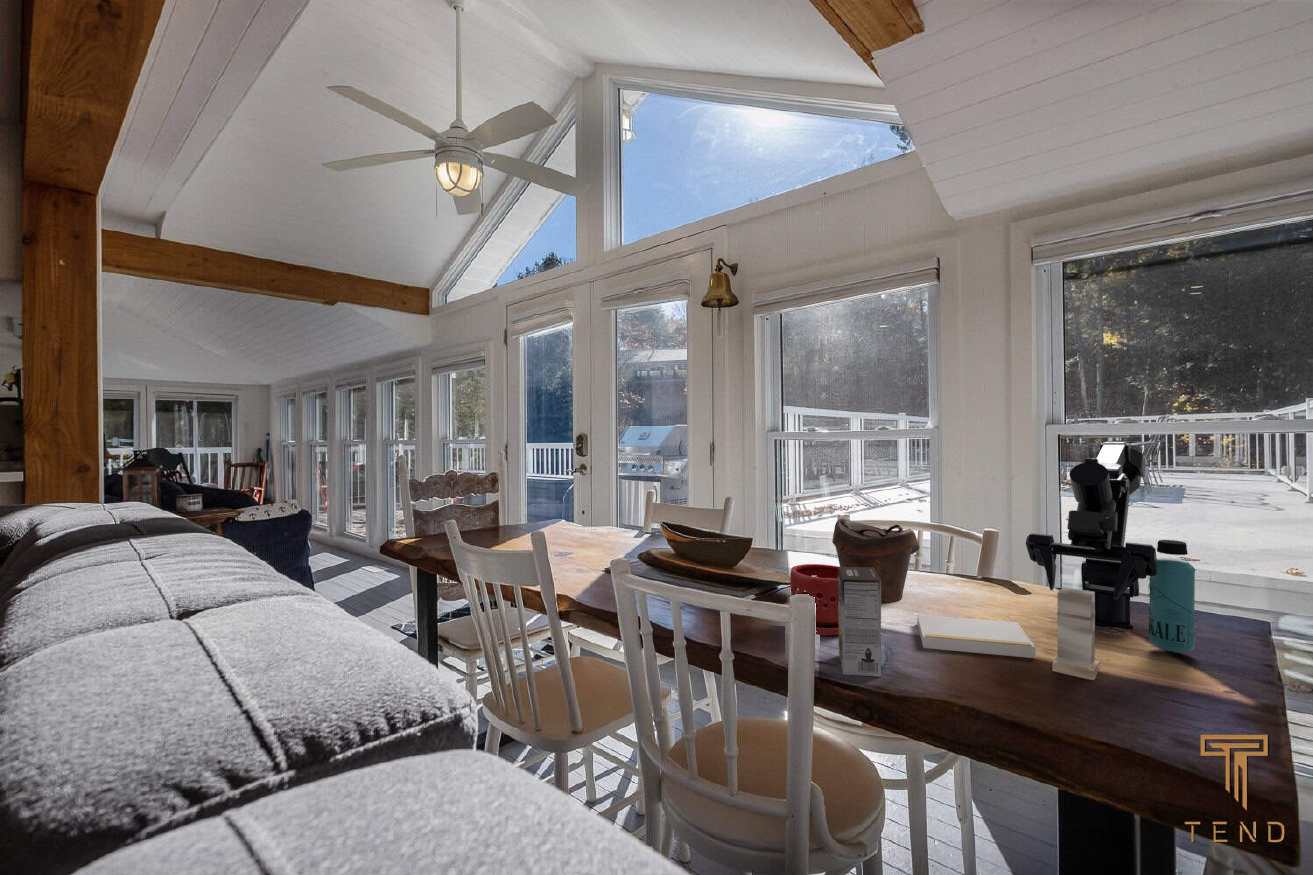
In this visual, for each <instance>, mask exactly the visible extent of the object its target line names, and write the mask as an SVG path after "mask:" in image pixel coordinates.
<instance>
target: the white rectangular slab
mask: <svg viewBox="0 0 1313 875" xmlns="http://www.w3.org/2000/svg"><path fill="white" fill-rule="evenodd" d="M916 620H917V628H918V633H919V636H920V640H921V645H922V648H923V649H931V650H932V649H933V650H942V651H954V652H964V653H974V654H975V653H976V654H987V655H995V656H996V655H997V656H1005V657H1007V656H1008V657H1018V658H1026V659H1036V645H1035V644H1034V643H1033V641H1032V640H1031V639H1030V637H1029V636H1028V635H1027V634H1026V632H1025V631H1024V630H1023V628H1022V627H1021V626H1020V624H1019V623H1018V622H1016V621H1008V620H1007V621H1006V620H1005V621H1004V620H993V619H992V620H990V619H977V618H968V617H967V618H964V617H953V616H939V615H930V614H929V615H928V614H927V615H926V614H917V616H916Z"/></svg>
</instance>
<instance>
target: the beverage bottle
mask: <svg viewBox="0 0 1313 875" xmlns="http://www.w3.org/2000/svg"><path fill="white" fill-rule="evenodd" d="M1156 553H1160V554H1165V555H1174V556H1187V555H1188V546H1187V542H1185V541H1181V540H1173V539H1160V540H1159V539H1158V540H1157V545H1156ZM1195 576H1196V568H1195V567H1194V566H1193V565H1192V564H1190V562H1189V561H1188V560H1184V559H1179V558H1173V557H1158V558H1157V575H1155V576H1148V580H1149V583H1148V592H1149V593H1148V597H1149V601H1148V603H1149V606H1148V612H1149V617H1148V639H1149V642H1150V644H1151V645H1152V646H1155V647H1158V648H1160V649H1165V650H1169V651H1175V652H1192V651H1194V650H1195V647H1196V643H1197V642H1196V633H1197V631H1196V614H1195V601H1196V600H1195V598H1196V597H1195V593H1196V589H1195V586H1196V585H1195V584H1196V577H1195Z"/></svg>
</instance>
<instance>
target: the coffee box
mask: <svg viewBox="0 0 1313 875" xmlns="http://www.w3.org/2000/svg"><path fill="white" fill-rule="evenodd" d="M838 619H839V634H838V655H839V660H840V665H841V671H842V674H843V675H845V676H846V675H847V676H861V677H862V676H866V677H876V678H877V677H882V602H881V580H880V578H879V576H878V574H877V572H876V570H875V568H874V567H840V566H838Z"/></svg>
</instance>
